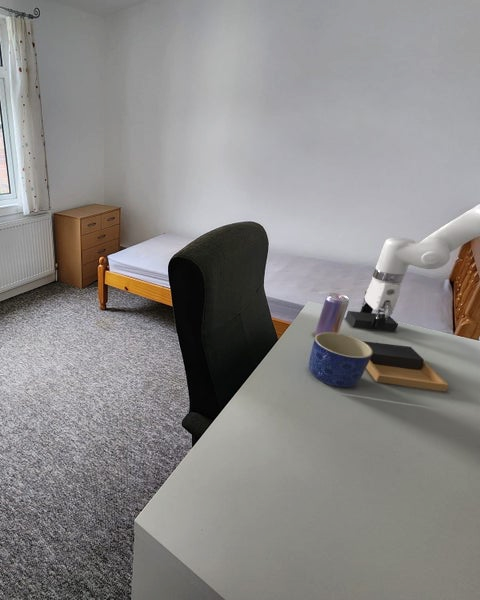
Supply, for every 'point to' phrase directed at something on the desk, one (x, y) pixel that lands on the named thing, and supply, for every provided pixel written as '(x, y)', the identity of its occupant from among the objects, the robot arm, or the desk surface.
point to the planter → (338, 359)
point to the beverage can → (332, 313)
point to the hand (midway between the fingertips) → (369, 322)
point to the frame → (408, 376)
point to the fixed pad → (395, 356)
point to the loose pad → (368, 321)
